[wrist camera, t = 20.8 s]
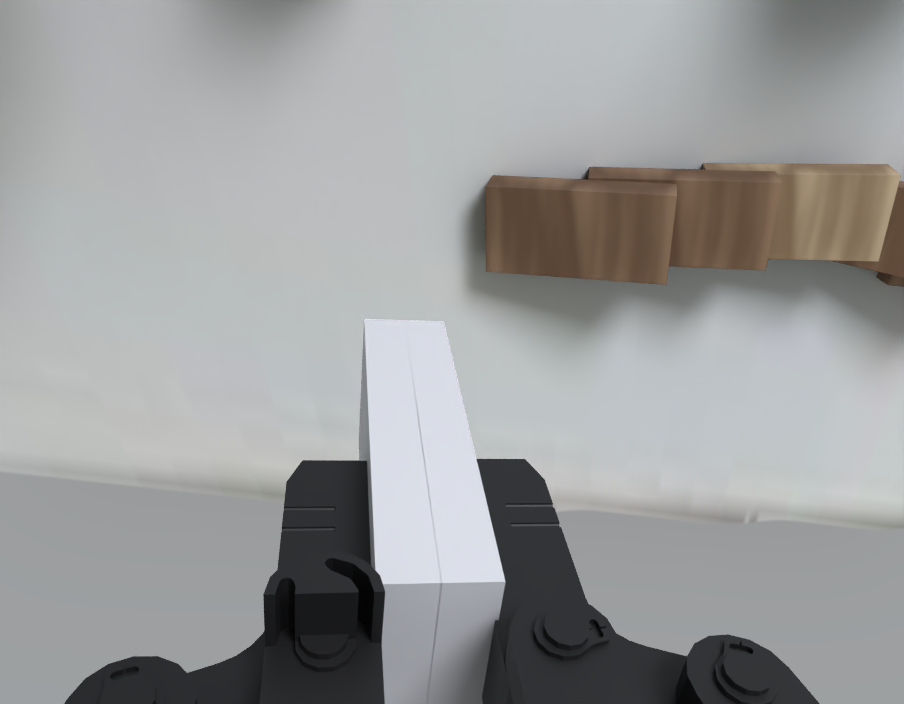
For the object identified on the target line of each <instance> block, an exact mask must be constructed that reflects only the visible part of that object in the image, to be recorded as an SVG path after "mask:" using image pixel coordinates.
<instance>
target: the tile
mask: <svg viewBox="0 0 904 704" xmlns="http://www.w3.org/2000/svg"><path fill="white" fill-rule="evenodd" d="M702 170H740V171H776V173H777V175H778V177H779V179H780V180H781V182H782V185H781V190H780V196H779V201H778V206H777V212H776V217H775V223H774V228H773V233H772V239H771V244H770V250H769V255H768V259H792V260H836V261H879V258H880V254H881V250H882V246H883V242H884V238H885V235H886V231H887V227H888V223H889V219H890V215H891V211H892V208H893V204H894V200H895V196H896V192H897V188H898V184H899V181H900V177H901V175H900V174H899V173H898V172H896V171H895V170H894V169H893V168H892V167H891V166H889V165H888V164H728V163H703V167H702Z"/></svg>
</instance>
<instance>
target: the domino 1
mask: <svg viewBox="0 0 904 704" xmlns="http://www.w3.org/2000/svg"><path fill="white" fill-rule="evenodd" d="M676 201H677V184H671V183H649V182H627V181H605V180H583V179H562V178H540V177H518V176H496V175H493V176H492V177H491V179H490V180H489V182H488V184H487V185H486V271H488V272H501V273H515V274H528V275H542V276H555V277H569V278H583V279H596V280H610V281H623V282H637V283H650V284H664V285H666V284H667V276H668V268H669V259H670V251H671V243H672V234H673V226H674V218H675V209H676Z"/></svg>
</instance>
